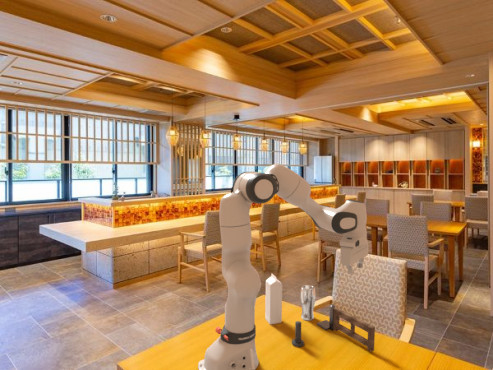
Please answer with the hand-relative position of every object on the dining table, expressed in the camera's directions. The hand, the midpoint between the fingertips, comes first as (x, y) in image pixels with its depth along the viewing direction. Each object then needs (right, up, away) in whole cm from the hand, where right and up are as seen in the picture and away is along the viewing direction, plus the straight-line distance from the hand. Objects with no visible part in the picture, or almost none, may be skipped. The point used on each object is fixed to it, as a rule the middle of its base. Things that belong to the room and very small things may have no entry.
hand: (355, 270), depth 138 cm
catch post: (-25, -30, -2) cm, 38 cm away
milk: (-33, -28, +18) cm, 47 cm away
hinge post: (-9, -29, +12) cm, 32 cm away
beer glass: (-16, -28, +21) cm, 39 cm away
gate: (-1, -29, 0) cm, 29 cm away
